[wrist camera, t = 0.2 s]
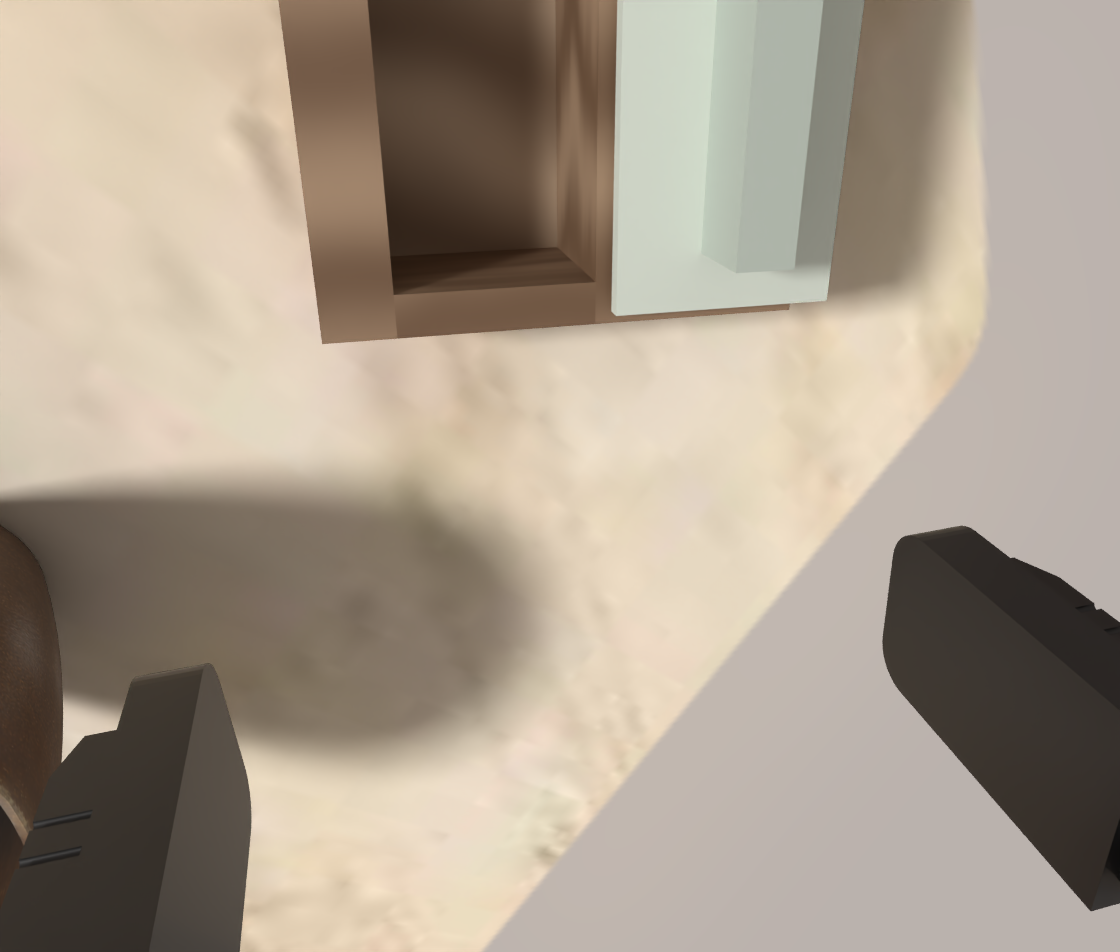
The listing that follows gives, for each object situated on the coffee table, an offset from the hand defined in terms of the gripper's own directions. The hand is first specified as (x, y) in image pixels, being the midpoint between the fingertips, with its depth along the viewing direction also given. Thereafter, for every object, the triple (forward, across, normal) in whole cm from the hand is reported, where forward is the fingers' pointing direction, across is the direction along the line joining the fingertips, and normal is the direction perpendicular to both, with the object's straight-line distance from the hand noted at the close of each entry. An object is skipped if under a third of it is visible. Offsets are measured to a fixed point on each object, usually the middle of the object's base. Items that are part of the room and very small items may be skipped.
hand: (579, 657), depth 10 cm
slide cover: (+22, -11, -5) cm, 25 cm away
